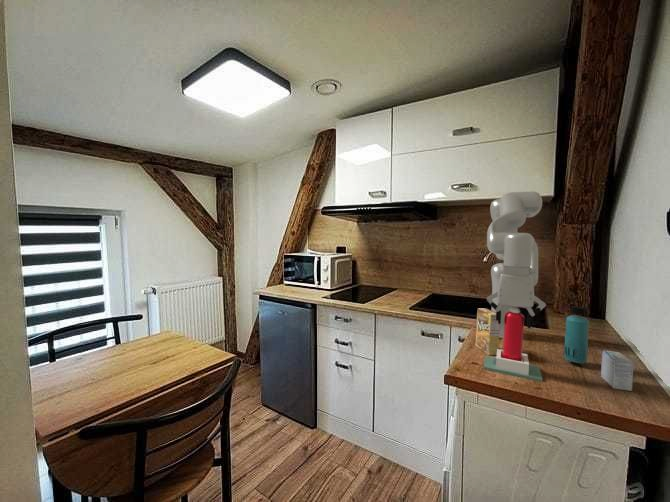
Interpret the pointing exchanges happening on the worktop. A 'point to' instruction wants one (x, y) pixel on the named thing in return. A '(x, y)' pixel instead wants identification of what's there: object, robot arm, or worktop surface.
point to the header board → (513, 366)
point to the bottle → (513, 335)
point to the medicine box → (617, 370)
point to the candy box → (487, 331)
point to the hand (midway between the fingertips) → (513, 324)
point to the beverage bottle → (576, 336)
